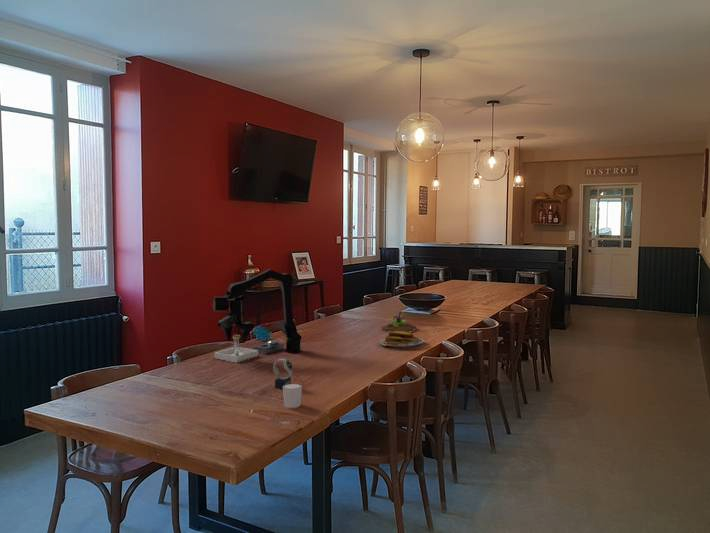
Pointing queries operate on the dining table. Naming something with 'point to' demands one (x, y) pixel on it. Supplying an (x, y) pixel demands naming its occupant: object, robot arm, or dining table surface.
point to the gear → (262, 333)
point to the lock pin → (236, 344)
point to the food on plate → (401, 339)
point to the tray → (229, 356)
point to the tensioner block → (269, 347)
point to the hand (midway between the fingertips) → (236, 342)
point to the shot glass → (292, 395)
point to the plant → (399, 325)
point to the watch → (281, 379)
